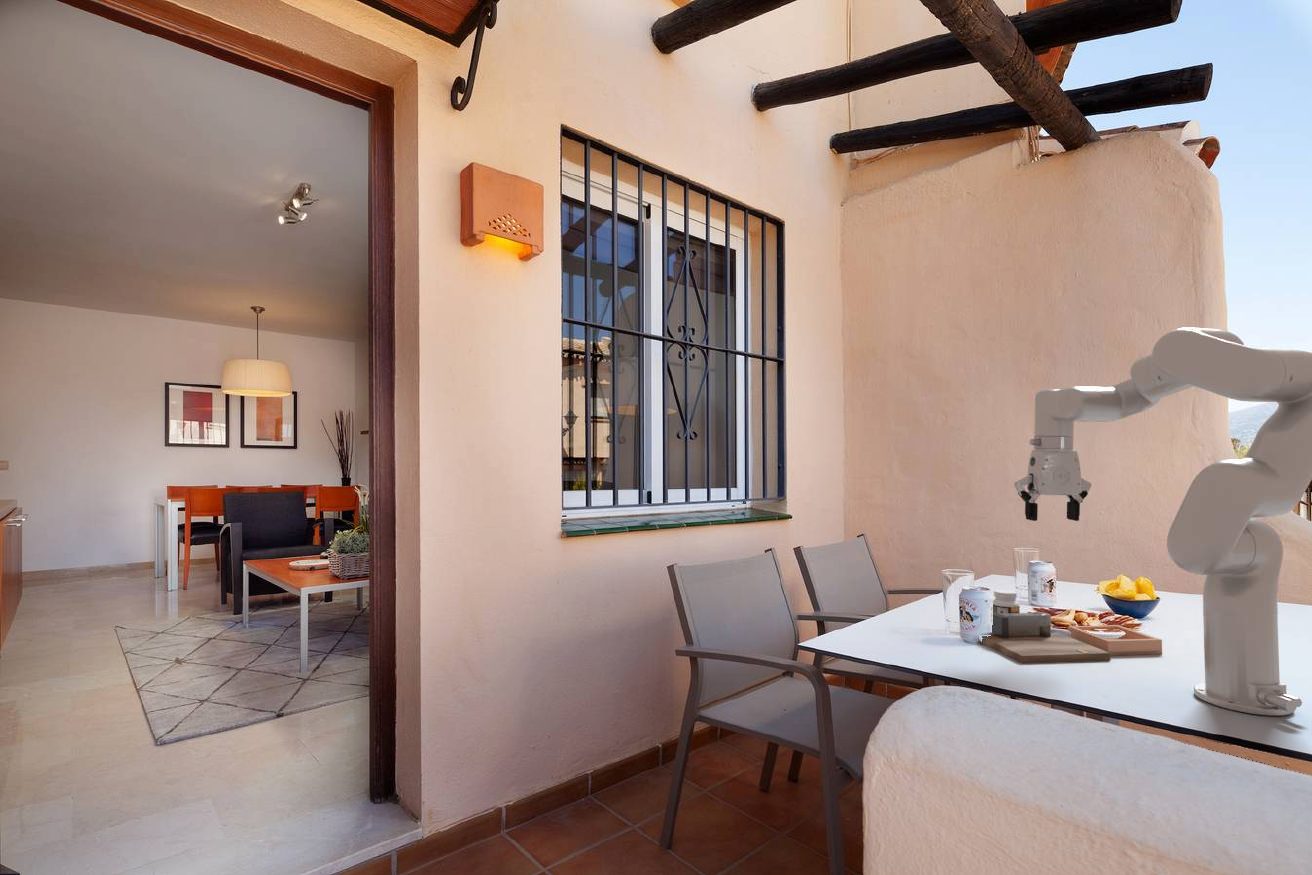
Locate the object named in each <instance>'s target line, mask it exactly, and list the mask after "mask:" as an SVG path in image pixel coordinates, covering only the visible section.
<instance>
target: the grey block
mask: <svg viewBox="0 0 1312 875" xmlns="http://www.w3.org/2000/svg"><path fill="white" fill-rule="evenodd" d="M1051 618H1052V615H1051V614H1050V613H1047V612H1044V611H1043V612H1042V611H1041V612H1039V611H1036V612H1035V611H1033V612H1020V613H1007V614H999V613H993V625H992V633H991V634H994V635H997V636H999V637H1001V638H1009V636H1051V633H1052V619H1051Z"/></svg>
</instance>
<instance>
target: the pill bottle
mask: <svg viewBox="0 0 1312 875" xmlns="http://www.w3.org/2000/svg"><path fill="white" fill-rule="evenodd" d="M993 596H994V597H995V599H993V600H992V602H993V613H999V614H1007V613H1021V612H1020V604H1019V602H1018V601H1017V600H1016V599H1017V597H1018V596H1017V592H1016V591H1014V590H1008V589H995V590H994V591H993Z"/></svg>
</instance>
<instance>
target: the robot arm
mask: <svg viewBox="0 0 1312 875" xmlns="http://www.w3.org/2000/svg"><path fill="white" fill-rule="evenodd" d="M1129 372H1130V373H1129V374H1130V378H1129V379H1127V380H1124V381H1121V382H1120V383H1116V384H1114V385H1111V386H1108V387H1107V386H1069V387H1066V388H1062V389H1059V388H1058V389H1056V388H1054V389H1042V390H1039V391H1037V392H1036V393H1035V398H1034V435H1033V438H1031V439H1030V440H1029V445H1031V446H1033V448H1034V449H1033V450H1032V449H1031V452H1030V456H1029V460H1028V465H1027V466H1028V467H1027V475H1026V476H1025V477H1023V478H1021V479H1019V480H1017V481H1015V482H1014V484H1013V485H1014V488H1015V490H1016V491H1017V495H1018V496H1019V497H1020V498H1021V499H1022V502H1024V504H1025V505H1024V507H1025V508H1024V515H1025V519H1026V520H1028V521H1032V522H1036V521H1038V506H1039V505H1038V503H1037V500H1038V499H1039V497H1041V495H1044V496H1065V497H1067V499H1068V500H1069V501H1067V502H1066V519H1067V520H1070V521H1074V522H1078V521H1080V515H1081V514H1080V512H1081V504H1082V503H1084V502H1083V501H1084V499H1085V498H1086V497H1087V496H1088V495H1089V491H1090V489H1091V487H1092V483H1091V482H1089V481H1088V480H1086V479H1084V478H1082V473H1081V472H1082V471H1081V464H1080V458H1079V454H1078V451H1077V450H1074V436H1075V435H1074V434H1075V433H1074V432H1075V431H1074V425H1075V424H1074V423H1089V422H1091V423H1093V422H1094V423H1107V422H1108V423H1109V422H1114V421H1118V420H1119V421H1120V420H1123V419H1125V418H1128V417H1131V416H1134V415H1137V414H1140V413H1142V412H1145V411H1147V410H1149V409H1151V408H1152V407H1154V406H1155V405H1156V404H1158V403H1159V402H1160V400H1162V399H1163V398H1165V397H1168V396H1171V395H1174V394H1177V393H1179V392H1182V391H1184V390H1188V389H1191V388H1193V387H1197V388H1199V389H1201V390H1205V391H1208V392H1210V393H1212V394H1216V395H1218V396H1222V397H1225V398H1227V399H1231V400H1234V401H1235V400H1236V401H1240V402H1251V403H1252V402H1255V403H1257V402H1258V403H1261V402H1262V403H1277V404H1278V407H1277V408H1276V410H1275V411H1274V412H1273V413H1272V414H1271V415H1270V416H1269V417H1268V419H1267V420H1266V421H1265V422H1264V423H1262V425H1261V426H1260V428H1259V430H1258V431H1257V432H1256V435H1255V437H1254V440H1253V442H1252V443H1251V445H1250V447H1249V449H1248V450H1247V452H1246V453H1245V455H1244V456H1243V457H1242V458H1239V459H1223V460H1219V461H1216V462H1213V463H1210V464H1209V465H1207V466H1206V467H1204V468H1202V470H1200V472H1199V473H1197V474H1196V476H1195V477H1194V478H1193V480H1192V482H1191V484H1190V485H1189V487H1188V489H1187V491H1186V493H1185V496H1184V497H1183V500H1182V502H1181V504H1180V506H1179V508H1178V510H1177V513H1176V515H1175V516H1174V518H1173V521H1172V523H1171V525H1170V528H1169V531H1168V534H1167V537H1166V538H1167V539H1166V549H1167V552H1168V555H1169V557H1170V558H1171V560H1172V561H1173V563H1174V565H1176V566H1177V567H1178V568H1180V569H1182V570H1184V571H1185V572H1187V573H1189V574H1194V575H1202V576H1206V577H1205V580H1204V584H1203V588H1202V614H1203V615H1202V616H1203V618H1202V619H1203V647H1204V648H1203V650H1204V651H1203V652H1204V680H1205V681H1204V682H1199V683H1197V684H1195V685H1194V686H1193V693H1194V695H1195V696H1196V697H1197V698H1199V699H1201V700H1202V701H1204V702H1207V703H1209V704H1212V705H1214V706H1217V707H1220V708H1224V709H1228V710H1231V711H1236V712H1240V713H1244V714H1245V713H1247V714H1251V715H1252V714H1253V715H1261V716H1274V717H1275V716H1278V717H1279V716H1280V717H1281V716H1287V715H1290V714H1293V712H1295V711H1296V710H1297V708H1300V707H1301V706H1302V704H1303V701H1302V699H1301V698H1298V697H1297V696H1296V697H1295V696H1293V695H1289V694H1287V684H1285V683H1282V682H1281V681H1280V655H1279V651H1280V650H1279V649H1280V648H1279V624H1278V623H1279V621H1278V620H1279V618H1278V615H1279V611H1278V610H1279V609H1278V605H1279V604H1278V590H1279V589H1278V587H1279V579H1280V578H1279V577H1280V572H1281V568H1282V563H1283V556H1284V550H1283V549H1284V546H1283V542H1282V539H1281V537H1280V535H1279V534H1278V533H1277V531H1276V530H1275V529H1274V528H1273V526H1271V525H1270V524H1268V523H1267V522H1265V521H1263V520H1261V519H1259V518H1266V517H1267V518H1268V517H1270V518H1271V517H1276V516H1277V517H1278V516H1282V515H1285V514H1287V513H1289V512H1290V513H1291V511H1293V510H1294V509H1295V508H1296V507H1297V506H1298V504H1299V503H1300V502H1301V500H1302V498H1303V496H1304V495H1305V492H1306V491H1307V489H1308V487H1309V485H1310V483H1311V481H1312V352H1310V351H1304V350H1297V349H1287V348H1286V349H1284V348H1283V349H1282V348H1281V349H1280V348H1279V349H1277V348H1262V347H1261V348H1260V347H1259V348H1258V347H1251V346H1248V345H1245V344H1244V342H1243V340H1242V339H1241V338H1240V337H1239V336H1238V335H1237V334H1234V333H1232V332H1231V331H1228V330H1223V329H1216V328H1205V327H1204V328H1201V327H1181V328H1176V329H1172V330H1171V331H1169V332H1167V333H1165V334H1164V335H1162V336H1161V337H1160V338H1159V339H1158V340H1157V341H1156V343H1155V344H1154V346H1153V348H1152V352H1151V353H1150V354H1148V355H1145V356H1142V357H1141V358H1138V359H1137V360H1135V361H1134V362H1133V363H1132V365H1131V368H1130V371H1129ZM1025 486H1026V488H1027V491H1026V488H1025Z"/></svg>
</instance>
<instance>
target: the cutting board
mask: <svg viewBox="0 0 1312 875" xmlns="http://www.w3.org/2000/svg"><path fill="white" fill-rule="evenodd" d="M990 634H991V636H988V637H987V636H982V638H983V639H982V643H981V644H984V646H987V647H988V648H991V649H992V650H994V651H997V652H999V653H1001V654H1003V655H1005V656H1006V657H1009V658H1011V659H1013V660H1015V661H1016V662H1019V663H1021V664H1030V663H1032V664H1034V663H1035V664H1037V663H1039V664H1040V663H1041V664H1042V663H1043V664H1044V663H1069V662H1071V663H1073V662H1076V663H1077V662H1100V661H1101V662H1102V661H1103V662H1104V661H1105V662H1106V661H1111V656H1110V653H1109V652H1106V651H1104V650H1101V649H1099V648H1096V647H1094V646H1091V645H1089V644H1086V643H1084V642H1081V641H1078V640H1076V639H1073V638H1071V637H1068V635H1065V634H1063V633H1061V632H1051V636H1009V638H1001V637H999V636H997V635H994V634H992V633H990Z"/></svg>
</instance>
